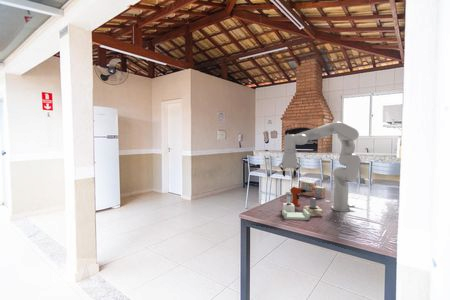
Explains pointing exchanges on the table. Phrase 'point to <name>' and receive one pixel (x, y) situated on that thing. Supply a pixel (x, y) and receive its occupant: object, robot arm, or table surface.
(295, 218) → the tray
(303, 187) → the stack of blocks
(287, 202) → the grey ball-topped peg
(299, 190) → the toy drill
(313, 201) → the grey round peg
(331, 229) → the table surface
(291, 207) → the housing
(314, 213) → the socket
